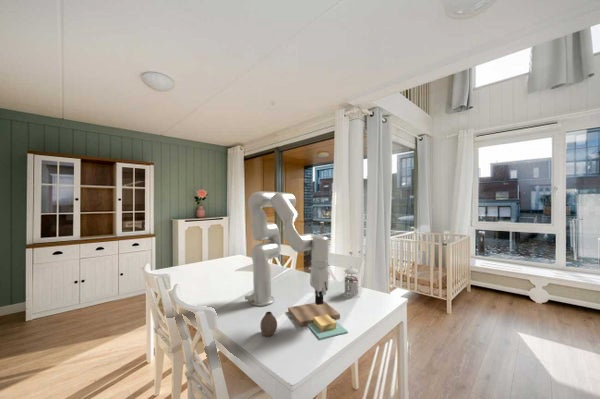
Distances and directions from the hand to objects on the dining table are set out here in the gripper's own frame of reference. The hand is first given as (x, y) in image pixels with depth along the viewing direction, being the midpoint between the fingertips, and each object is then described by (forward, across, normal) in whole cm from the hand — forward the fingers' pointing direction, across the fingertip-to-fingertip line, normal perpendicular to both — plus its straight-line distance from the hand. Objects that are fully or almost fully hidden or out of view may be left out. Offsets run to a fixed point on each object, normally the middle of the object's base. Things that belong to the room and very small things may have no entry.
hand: (319, 303), depth 112 cm
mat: (+8, +7, 0) cm, 11 cm away
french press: (+9, -22, +32) cm, 39 cm away
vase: (+9, +1, -24) cm, 25 cm away
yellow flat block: (+8, +5, 0) cm, 9 cm away
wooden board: (+8, -7, 0) cm, 11 cm away
